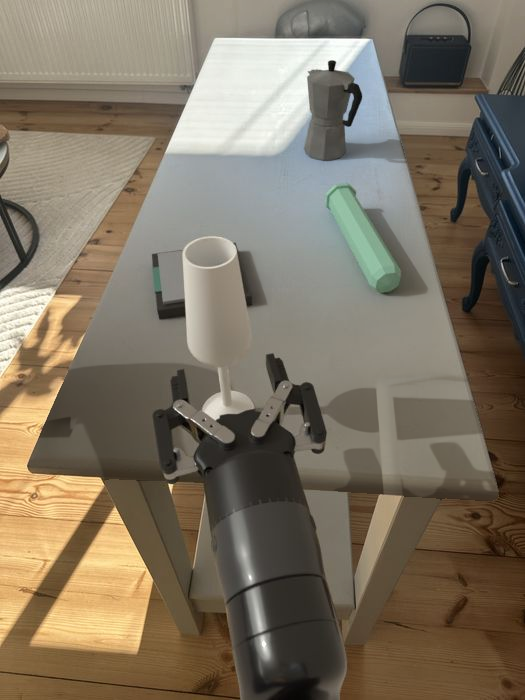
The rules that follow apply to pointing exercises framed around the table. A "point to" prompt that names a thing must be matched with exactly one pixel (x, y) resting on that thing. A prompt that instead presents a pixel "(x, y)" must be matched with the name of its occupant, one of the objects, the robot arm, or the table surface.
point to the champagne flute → (216, 316)
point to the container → (363, 238)
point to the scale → (178, 283)
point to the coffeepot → (330, 111)
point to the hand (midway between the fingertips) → (226, 366)
